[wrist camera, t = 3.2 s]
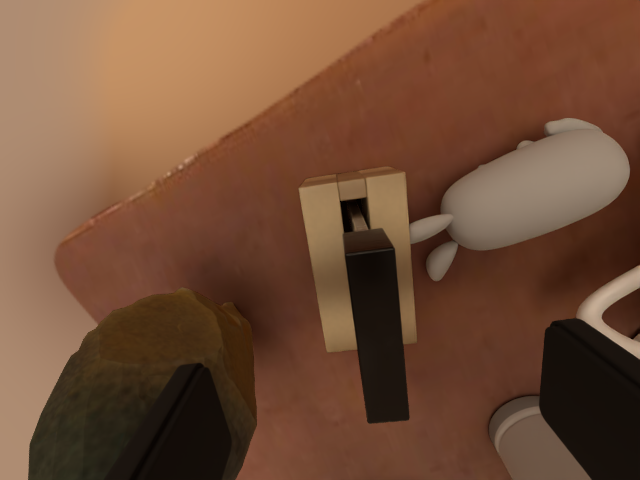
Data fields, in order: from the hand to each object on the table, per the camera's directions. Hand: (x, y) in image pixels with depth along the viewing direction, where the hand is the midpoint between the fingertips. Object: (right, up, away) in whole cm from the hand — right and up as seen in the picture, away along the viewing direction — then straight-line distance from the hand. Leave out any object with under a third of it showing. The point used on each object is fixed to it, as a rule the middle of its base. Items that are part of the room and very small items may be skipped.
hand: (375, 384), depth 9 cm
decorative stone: (-8, -1, +14) cm, 16 cm away
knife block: (+1, +4, +12) cm, 13 cm away
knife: (+1, +4, +12) cm, 13 cm away
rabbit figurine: (+9, +6, +11) cm, 16 cm away
